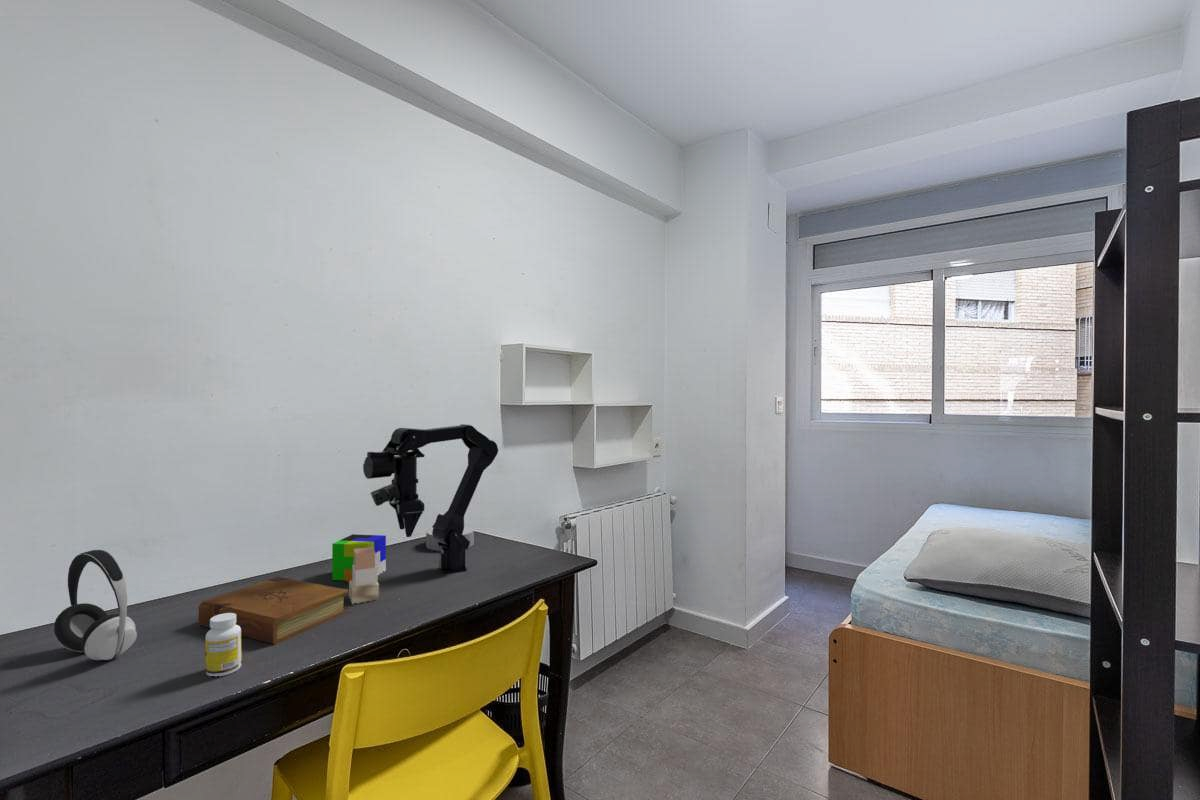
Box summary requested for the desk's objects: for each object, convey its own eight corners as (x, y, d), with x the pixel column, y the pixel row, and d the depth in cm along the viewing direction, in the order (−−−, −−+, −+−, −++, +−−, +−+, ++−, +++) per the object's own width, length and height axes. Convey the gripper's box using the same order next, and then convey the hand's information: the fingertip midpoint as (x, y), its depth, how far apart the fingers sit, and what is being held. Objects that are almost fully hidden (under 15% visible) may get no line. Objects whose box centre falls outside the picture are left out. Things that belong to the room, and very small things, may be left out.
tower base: (374, 592, 142) (374, 577, 142) (378, 600, 137) (378, 584, 137) (349, 596, 139) (349, 580, 139) (352, 605, 134) (352, 588, 134)
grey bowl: (453, 537, 197) (453, 522, 197) (483, 544, 188) (483, 529, 188) (416, 546, 184) (416, 531, 184) (446, 554, 175) (446, 538, 175)
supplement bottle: (216, 663, 104) (217, 611, 104) (247, 662, 105) (247, 610, 104) (198, 678, 99) (198, 623, 99) (230, 677, 99) (230, 622, 99)
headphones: (149, 655, 107) (149, 551, 107) (94, 675, 99) (94, 563, 99) (96, 636, 115) (96, 539, 115) (42, 653, 107) (41, 550, 107)
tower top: (373, 577, 141) (373, 561, 141) (377, 583, 137) (377, 567, 137) (352, 580, 139) (352, 564, 139) (355, 586, 135) (355, 570, 134)
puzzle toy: (385, 570, 159) (385, 535, 159) (367, 582, 149) (367, 545, 149) (352, 569, 160) (352, 534, 160) (332, 580, 150) (332, 543, 150)
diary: (198, 629, 120) (198, 602, 120) (277, 599, 138) (277, 576, 138) (273, 647, 112) (273, 618, 112) (347, 613, 129) (347, 588, 129)
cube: (372, 562, 141) (373, 547, 140) (374, 567, 137) (375, 551, 137) (353, 565, 138) (353, 549, 138) (355, 570, 135) (355, 553, 135)
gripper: (368, 472, 154) (368, 528, 154) (378, 482, 138) (378, 545, 138) (410, 469, 159) (410, 524, 159) (425, 479, 143) (424, 539, 143)
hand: (405, 532), depth 150 cm, fingers open, 9 cm apart
